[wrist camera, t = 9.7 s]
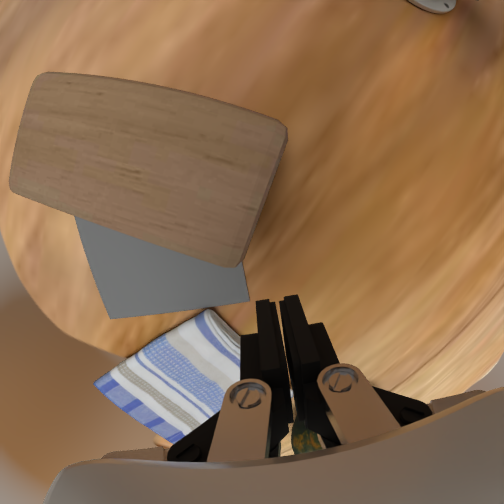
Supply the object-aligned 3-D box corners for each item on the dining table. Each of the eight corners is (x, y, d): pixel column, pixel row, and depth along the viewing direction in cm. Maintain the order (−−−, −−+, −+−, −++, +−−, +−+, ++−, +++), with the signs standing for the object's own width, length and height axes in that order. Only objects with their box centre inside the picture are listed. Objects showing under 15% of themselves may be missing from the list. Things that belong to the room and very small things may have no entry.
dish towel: (297, 385, 35) (300, 400, 32) (174, 436, 39) (172, 449, 37) (213, 298, 30) (210, 312, 27) (93, 375, 34) (87, 388, 31)
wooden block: (238, 278, 18) (3, 193, 15) (240, 237, 27) (65, 180, 25) (296, 123, 15) (33, 69, 13) (277, 137, 25) (91, 89, 22)
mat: (220, 146, 25) (219, 146, 25) (249, 299, 30) (249, 301, 30) (69, 188, 25) (67, 188, 25) (111, 317, 31) (110, 319, 31)
